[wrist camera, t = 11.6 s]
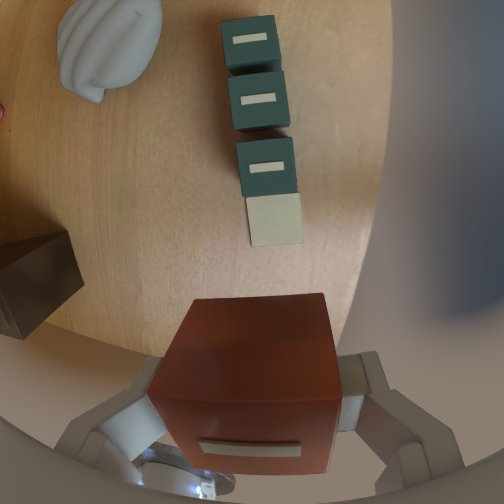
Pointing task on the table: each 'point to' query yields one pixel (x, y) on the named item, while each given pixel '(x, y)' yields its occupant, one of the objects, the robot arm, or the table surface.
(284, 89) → the row of labeled boxes
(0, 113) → the ink box
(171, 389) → the wooden drawer cube
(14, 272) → the dark drawer rack
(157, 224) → the table surface
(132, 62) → the shell shaped sculpture
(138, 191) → the table surface
